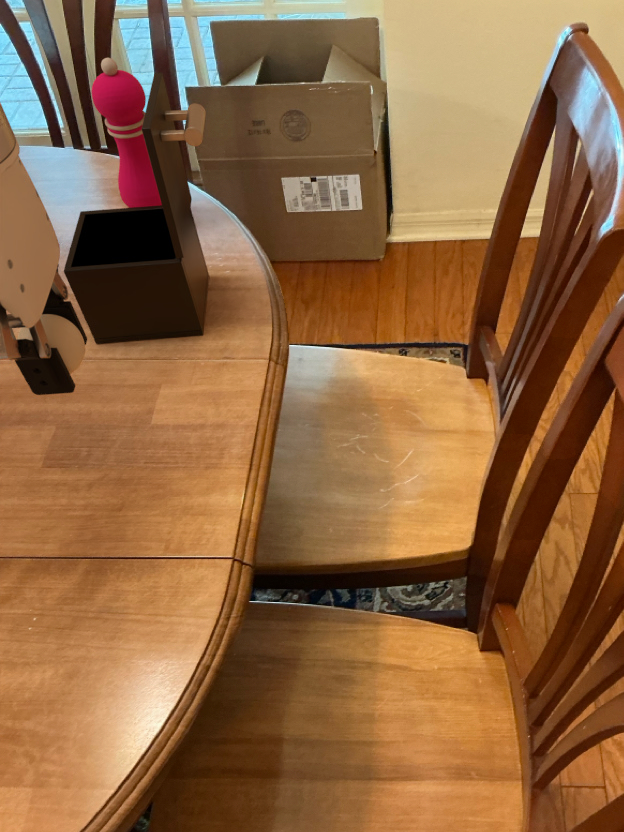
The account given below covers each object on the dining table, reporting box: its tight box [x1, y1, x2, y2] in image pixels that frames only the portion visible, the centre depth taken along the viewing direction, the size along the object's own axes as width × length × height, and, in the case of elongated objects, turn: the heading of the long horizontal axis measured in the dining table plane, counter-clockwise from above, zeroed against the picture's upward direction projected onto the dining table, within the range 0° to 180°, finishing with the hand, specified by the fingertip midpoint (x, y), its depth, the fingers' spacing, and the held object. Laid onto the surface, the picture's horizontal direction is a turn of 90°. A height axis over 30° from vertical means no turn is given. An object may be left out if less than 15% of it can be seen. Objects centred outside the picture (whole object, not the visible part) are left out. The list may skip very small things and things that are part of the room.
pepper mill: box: [91, 57, 162, 208], centre depth 95 cm, size 7×7×20 cm
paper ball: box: [16, 314, 86, 375], centre depth 59 cm, size 5×5×5 cm
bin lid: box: [142, 72, 207, 258], centre depth 79 cm, size 13×11×5 cm
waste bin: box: [63, 205, 210, 345], centre depth 88 cm, size 12×11×10 cm
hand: (61, 365), depth 61 cm, fingers closed on paper ball, 4 cm apart
